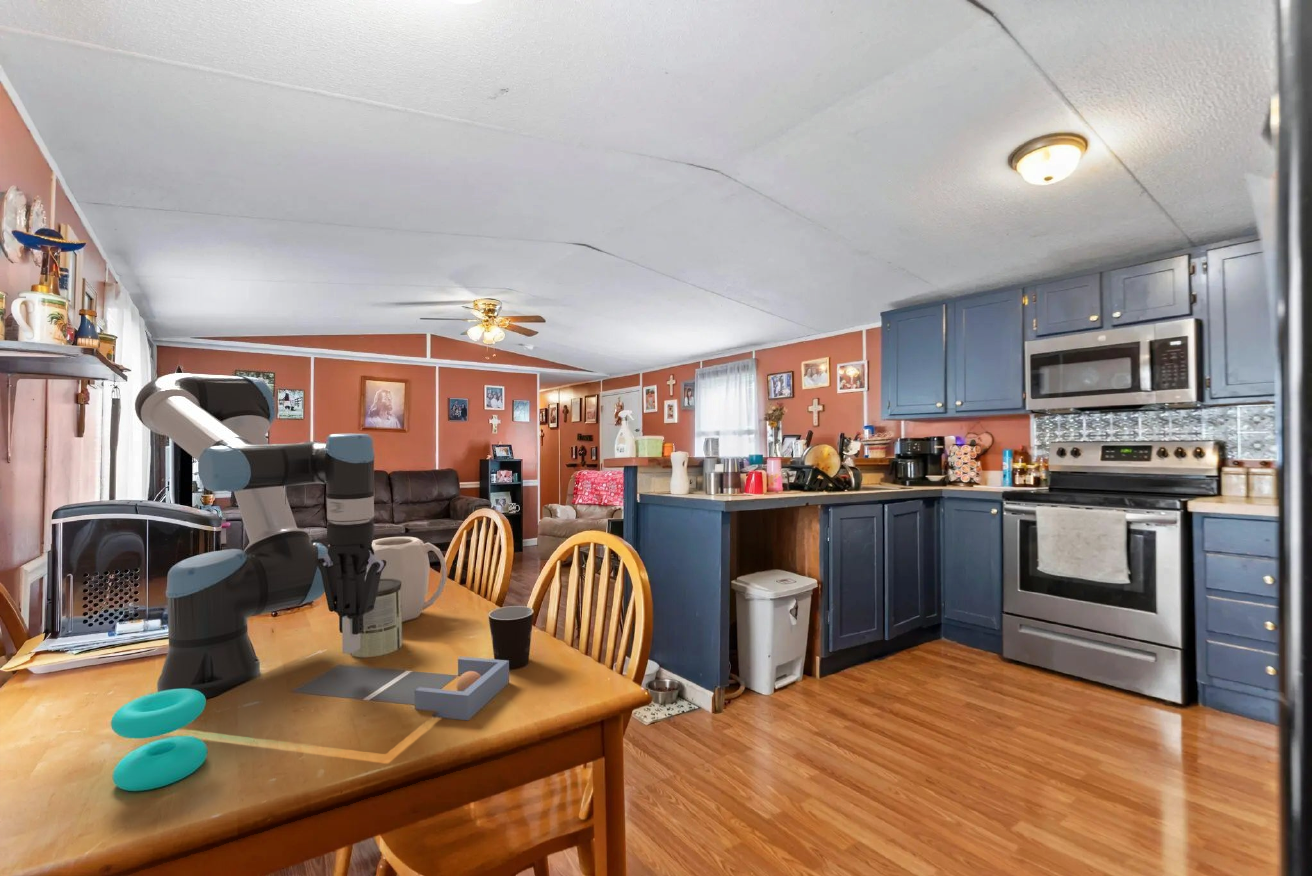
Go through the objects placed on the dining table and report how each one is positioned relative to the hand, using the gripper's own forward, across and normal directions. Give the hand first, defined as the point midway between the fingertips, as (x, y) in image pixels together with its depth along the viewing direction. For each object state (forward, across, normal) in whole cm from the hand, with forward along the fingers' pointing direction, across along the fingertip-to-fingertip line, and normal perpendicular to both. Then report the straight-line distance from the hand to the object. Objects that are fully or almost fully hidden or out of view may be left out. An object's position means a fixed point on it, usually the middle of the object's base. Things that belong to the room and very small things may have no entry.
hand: (351, 650), depth 110 cm
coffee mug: (+6, +24, +17) cm, 30 cm away
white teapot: (+8, -18, +35) cm, 40 cm away
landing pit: (+6, +22, 0) cm, 23 cm away
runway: (+6, +5, 0) cm, 8 cm away
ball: (+2, +22, 0) cm, 22 cm away
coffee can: (+7, -6, +15) cm, 17 cm away
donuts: (+7, -6, -29) cm, 31 cm away
